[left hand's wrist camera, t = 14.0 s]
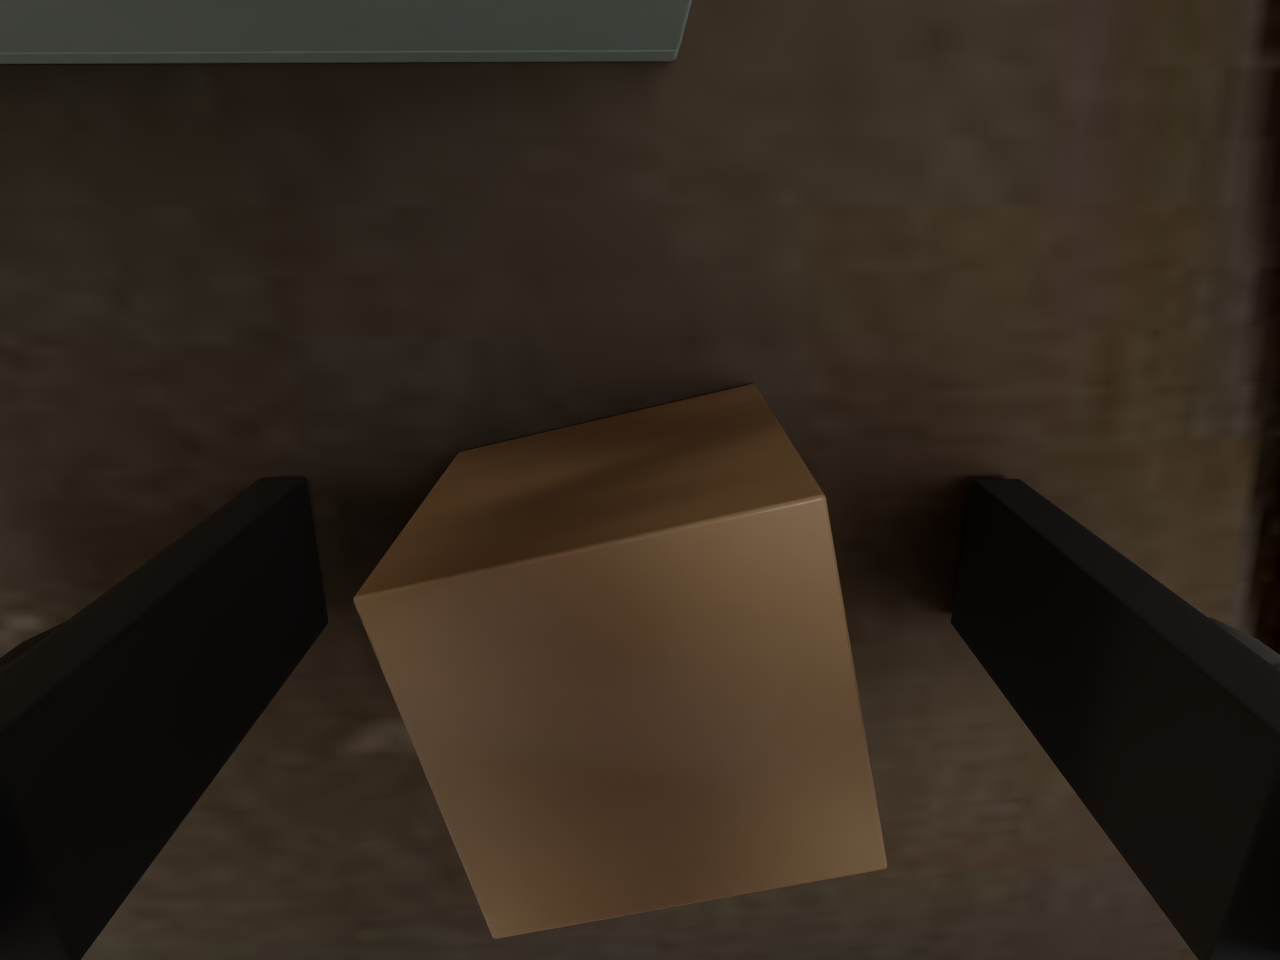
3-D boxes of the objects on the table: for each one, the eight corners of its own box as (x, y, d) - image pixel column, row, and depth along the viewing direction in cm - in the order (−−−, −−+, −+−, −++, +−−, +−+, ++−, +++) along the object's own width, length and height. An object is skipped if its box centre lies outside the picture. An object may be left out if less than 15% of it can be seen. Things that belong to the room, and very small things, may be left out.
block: (754, 382, 12) (825, 494, 8) (804, 644, 14) (889, 870, 9) (456, 451, 13) (350, 599, 8) (540, 698, 14) (492, 941, 10)
